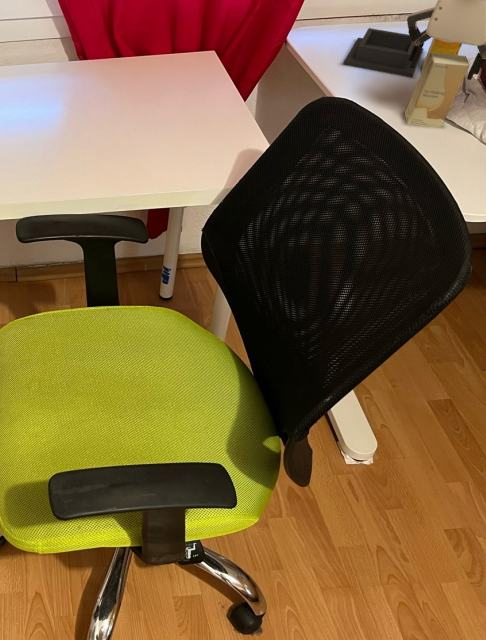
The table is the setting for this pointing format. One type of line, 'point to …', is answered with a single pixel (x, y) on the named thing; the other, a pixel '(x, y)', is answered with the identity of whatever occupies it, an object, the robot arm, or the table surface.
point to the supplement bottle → (442, 48)
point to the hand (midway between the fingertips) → (440, 71)
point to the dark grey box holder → (383, 52)
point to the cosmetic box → (436, 89)
